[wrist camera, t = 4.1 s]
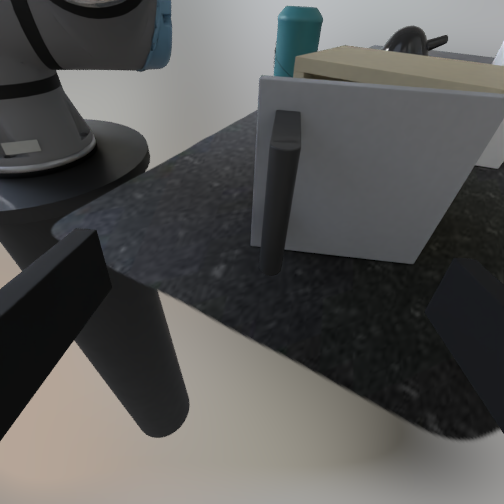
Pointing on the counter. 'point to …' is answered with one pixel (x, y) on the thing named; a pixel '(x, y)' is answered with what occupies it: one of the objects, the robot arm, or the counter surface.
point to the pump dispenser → (413, 41)
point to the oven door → (361, 165)
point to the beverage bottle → (296, 37)
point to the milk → (500, 144)
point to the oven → (399, 70)
